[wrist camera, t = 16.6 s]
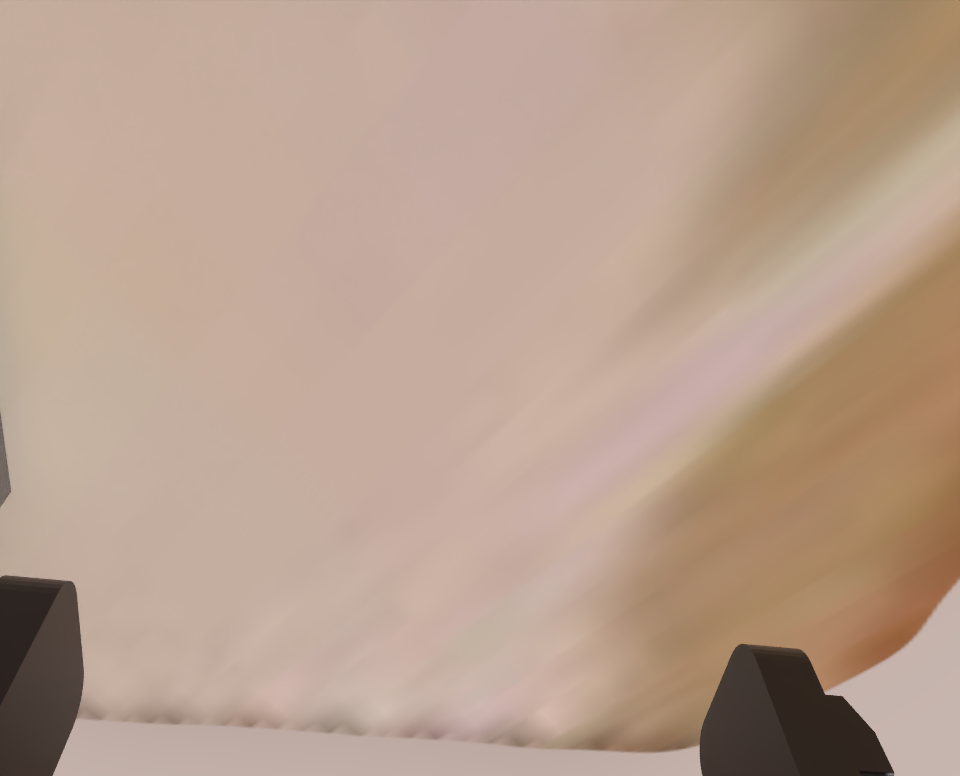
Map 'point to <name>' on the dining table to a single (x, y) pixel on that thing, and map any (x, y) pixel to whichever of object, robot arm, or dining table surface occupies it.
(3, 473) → the stand
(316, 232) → the dining table surface
